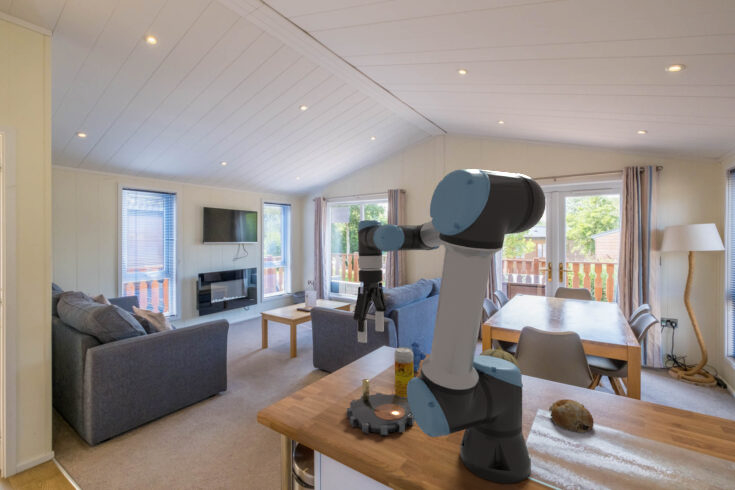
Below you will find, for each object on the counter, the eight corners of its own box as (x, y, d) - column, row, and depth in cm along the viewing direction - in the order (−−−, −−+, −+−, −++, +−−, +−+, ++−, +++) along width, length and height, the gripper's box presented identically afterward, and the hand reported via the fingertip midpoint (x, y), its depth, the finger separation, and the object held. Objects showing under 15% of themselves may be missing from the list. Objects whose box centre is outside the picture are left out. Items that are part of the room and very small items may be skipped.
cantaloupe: (476, 403, 105) (476, 355, 105) (471, 383, 120) (470, 341, 119) (527, 406, 102) (527, 357, 102) (515, 386, 117) (515, 342, 117)
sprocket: (430, 421, 94) (429, 391, 94) (370, 444, 84) (370, 410, 84) (388, 394, 111) (388, 369, 111) (335, 411, 100) (334, 383, 100)
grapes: (427, 377, 125) (426, 345, 124) (408, 377, 126) (408, 344, 125) (426, 366, 136) (426, 336, 136) (409, 365, 137) (409, 335, 137)
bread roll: (565, 445, 89) (576, 425, 86) (538, 412, 98) (547, 392, 95) (594, 439, 92) (606, 419, 88) (566, 407, 101) (576, 387, 97)
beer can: (393, 398, 109) (392, 352, 108) (397, 390, 115) (396, 346, 114) (412, 400, 107) (411, 353, 107) (415, 392, 113) (414, 347, 113)
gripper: (375, 266, 120) (375, 326, 120) (341, 272, 97) (342, 346, 97) (394, 266, 117) (395, 328, 117) (364, 272, 94) (365, 349, 94)
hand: (371, 336), depth 107 cm, fingers open, 13 cm apart
